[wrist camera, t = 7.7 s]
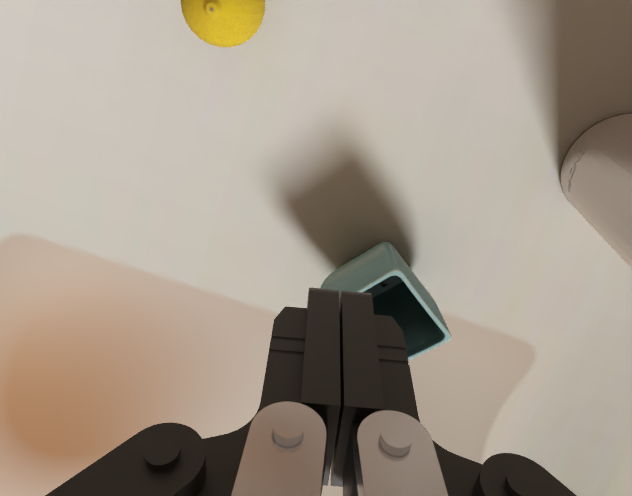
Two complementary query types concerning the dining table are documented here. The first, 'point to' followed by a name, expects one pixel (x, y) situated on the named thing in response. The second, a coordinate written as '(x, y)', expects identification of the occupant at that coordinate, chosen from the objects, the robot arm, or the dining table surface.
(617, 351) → the dining table surface
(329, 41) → the dining table surface
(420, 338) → the flower pot
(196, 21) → the lemon
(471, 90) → the dining table surface
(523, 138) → the dining table surface
